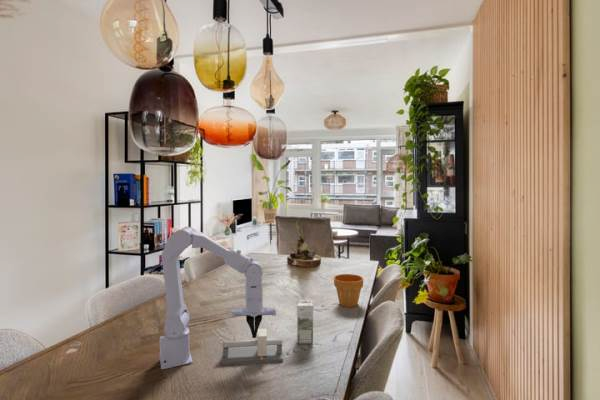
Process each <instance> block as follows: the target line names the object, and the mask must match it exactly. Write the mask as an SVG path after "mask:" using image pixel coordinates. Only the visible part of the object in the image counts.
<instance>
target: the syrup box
mask: <svg viewBox="0 0 600 400" xmlns="http://www.w3.org/2000/svg"><path fill="white" fill-rule="evenodd" d="M296 301H297V302H296V309H297V311H296V316H297V317H296V318H297V319H296V320H297V321H296V322H297V324H296V326H297V327H296V329H297V330H296V331H297V332H296V334H297V335H296V336H297V344H298V345H308V344H311V345H312V344H314V305H313V301H312V300H296Z"/></svg>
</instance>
